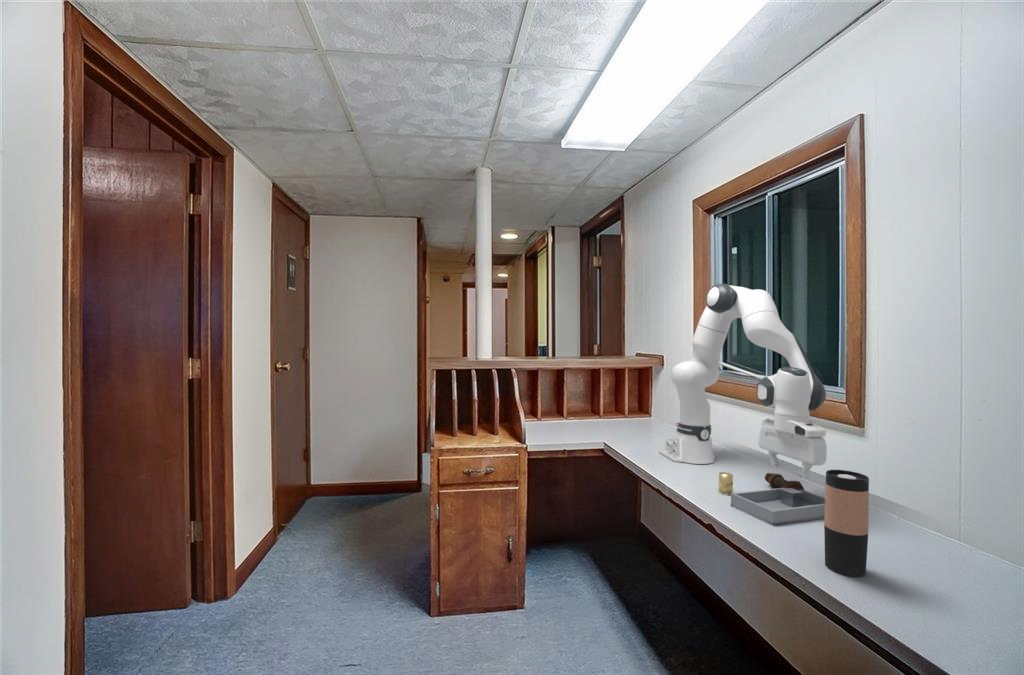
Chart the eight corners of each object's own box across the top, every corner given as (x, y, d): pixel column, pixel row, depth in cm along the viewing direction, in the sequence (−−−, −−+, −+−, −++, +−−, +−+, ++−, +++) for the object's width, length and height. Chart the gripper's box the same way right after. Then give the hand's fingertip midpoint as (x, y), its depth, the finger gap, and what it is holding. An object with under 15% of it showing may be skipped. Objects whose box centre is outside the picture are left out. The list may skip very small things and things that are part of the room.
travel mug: (816, 559, 106) (818, 468, 106) (853, 561, 106) (855, 470, 105) (835, 576, 99) (838, 479, 99) (876, 579, 98) (878, 480, 98)
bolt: (771, 489, 159) (798, 503, 144) (758, 481, 159) (783, 494, 144) (780, 473, 159) (808, 486, 144) (766, 465, 159) (793, 477, 144)
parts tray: (730, 505, 139) (731, 493, 139) (794, 498, 146) (794, 486, 146) (772, 525, 125) (772, 511, 125) (840, 516, 132) (840, 502, 132)
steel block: (780, 502, 140) (780, 489, 140) (791, 501, 142) (791, 487, 142) (792, 507, 137) (792, 493, 137) (803, 506, 138) (803, 492, 138)
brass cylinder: (715, 491, 152) (716, 472, 152) (726, 490, 153) (726, 471, 153) (725, 495, 148) (725, 476, 148) (735, 494, 149) (735, 475, 149)
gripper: (754, 417, 148) (752, 462, 148) (813, 432, 128) (811, 484, 129) (770, 417, 150) (768, 461, 150) (831, 431, 130) (829, 482, 131)
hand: (788, 472), depth 139 cm, fingers open, 8 cm apart
